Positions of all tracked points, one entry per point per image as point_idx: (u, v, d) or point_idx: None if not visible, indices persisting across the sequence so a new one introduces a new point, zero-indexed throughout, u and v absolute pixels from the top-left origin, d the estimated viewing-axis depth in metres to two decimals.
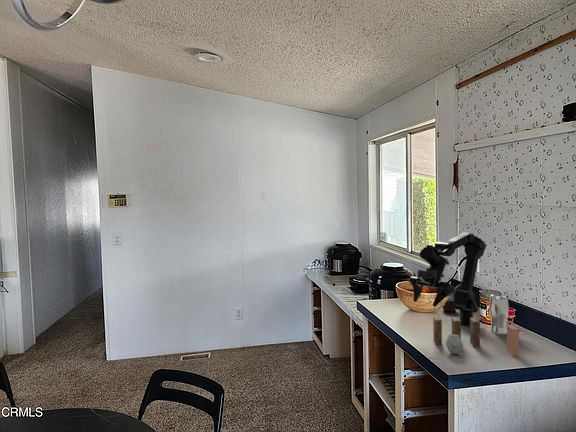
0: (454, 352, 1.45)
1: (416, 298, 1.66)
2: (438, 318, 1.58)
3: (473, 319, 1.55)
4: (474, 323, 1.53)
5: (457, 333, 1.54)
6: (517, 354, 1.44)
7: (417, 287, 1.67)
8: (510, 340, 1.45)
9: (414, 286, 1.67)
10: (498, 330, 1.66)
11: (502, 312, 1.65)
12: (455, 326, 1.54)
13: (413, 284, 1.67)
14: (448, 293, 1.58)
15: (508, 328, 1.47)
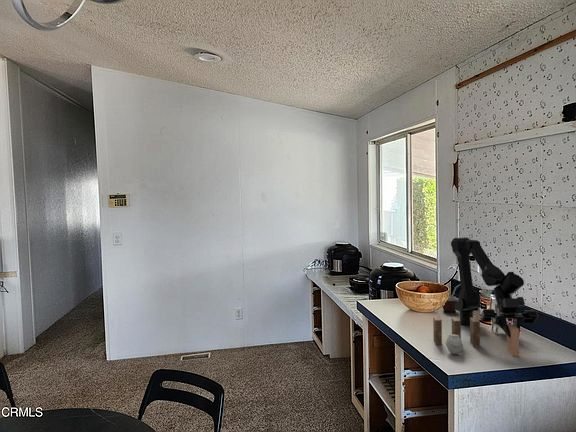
0: (454, 352, 1.45)
1: None
2: (438, 318, 1.58)
3: (473, 319, 1.55)
4: (474, 323, 1.53)
5: (457, 333, 1.54)
6: (517, 354, 1.43)
7: None
8: (510, 340, 1.45)
9: (504, 319, 1.47)
10: (498, 330, 1.66)
11: None
12: (455, 326, 1.54)
13: (503, 317, 1.47)
14: (522, 322, 1.49)
15: None
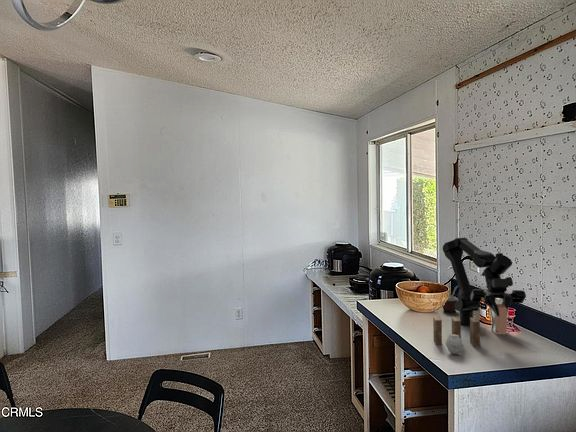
0: (454, 352, 1.45)
1: None
2: (438, 318, 1.58)
3: (473, 319, 1.55)
4: (474, 323, 1.53)
5: (457, 333, 1.54)
6: (505, 332, 1.48)
7: None
8: (498, 319, 1.50)
9: (492, 299, 1.52)
10: None
11: None
12: (455, 326, 1.54)
13: (491, 297, 1.52)
14: (511, 301, 1.53)
15: (497, 307, 1.51)
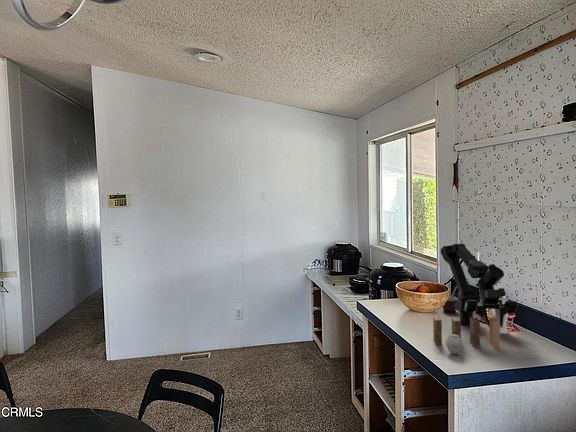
0: (454, 352, 1.45)
1: None
2: (438, 318, 1.58)
3: (473, 319, 1.55)
4: (474, 323, 1.53)
5: (457, 333, 1.54)
6: (498, 346, 1.52)
7: None
8: (491, 333, 1.53)
9: (483, 309, 1.55)
10: None
11: None
12: (455, 326, 1.54)
13: (482, 307, 1.56)
14: (506, 312, 1.57)
15: (490, 321, 1.55)
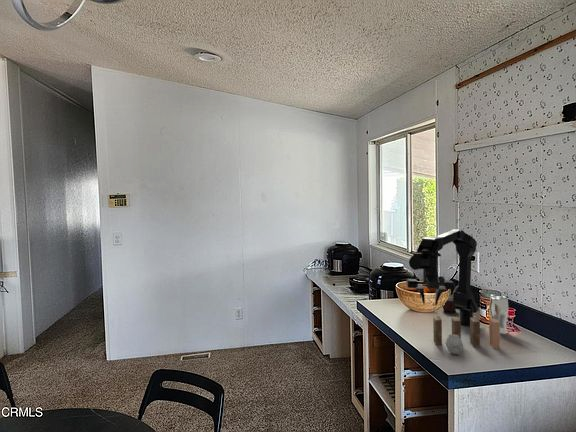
0: (454, 352, 1.45)
1: None
2: (438, 318, 1.58)
3: (473, 319, 1.55)
4: (474, 323, 1.53)
5: (457, 333, 1.54)
6: (498, 346, 1.52)
7: (423, 290, 1.65)
8: (491, 333, 1.53)
9: (421, 291, 1.64)
10: None
11: (502, 312, 1.65)
12: (455, 326, 1.54)
13: (421, 290, 1.64)
14: None
15: (490, 321, 1.55)
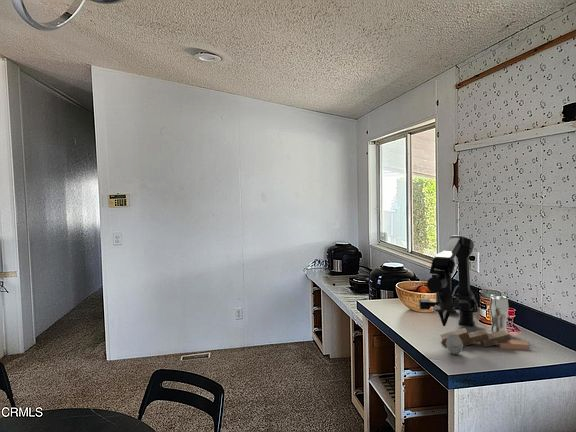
0: (454, 352, 1.45)
1: None
2: None
3: None
4: (507, 335, 1.51)
5: (474, 339, 1.53)
6: None
7: (442, 311, 1.57)
8: (514, 342, 1.51)
9: (441, 312, 1.56)
10: (498, 330, 1.66)
11: (502, 312, 1.65)
12: (481, 336, 1.53)
13: (440, 311, 1.55)
14: None
15: (523, 341, 1.53)
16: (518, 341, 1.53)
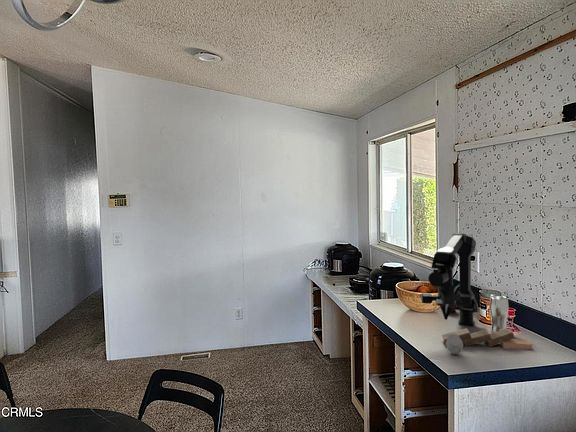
0: (454, 352, 1.45)
1: None
2: None
3: None
4: (511, 333, 1.52)
5: (477, 340, 1.53)
6: None
7: None
8: (517, 342, 1.52)
9: (442, 306, 1.59)
10: (498, 330, 1.66)
11: (502, 312, 1.65)
12: (484, 336, 1.52)
13: (442, 305, 1.58)
14: None
15: (526, 340, 1.53)
16: (521, 341, 1.53)
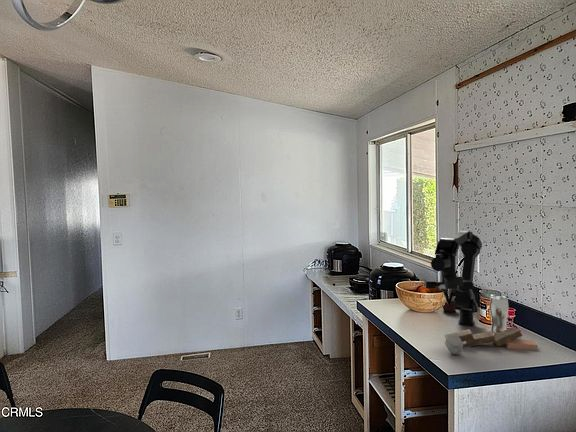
0: (454, 352, 1.45)
1: None
2: None
3: None
4: (518, 332, 1.51)
5: (481, 341, 1.53)
6: None
7: None
8: (522, 342, 1.51)
9: (445, 291, 1.65)
10: (498, 330, 1.66)
11: (502, 312, 1.65)
12: (488, 338, 1.52)
13: (445, 290, 1.64)
14: None
15: (531, 341, 1.52)
16: (526, 341, 1.52)
